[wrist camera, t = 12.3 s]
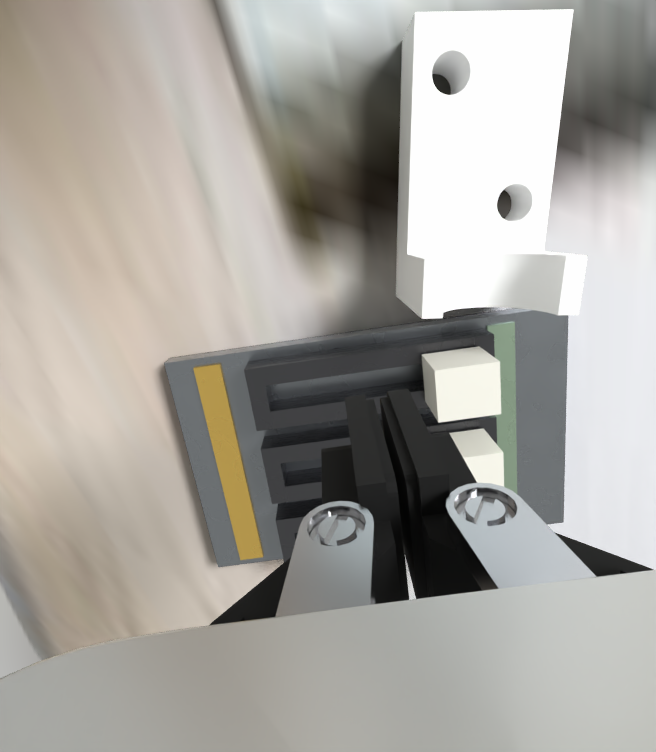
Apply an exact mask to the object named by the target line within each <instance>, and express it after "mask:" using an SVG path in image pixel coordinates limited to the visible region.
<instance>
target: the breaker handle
mask: <svg viewBox="0 0 656 752" xmlns="http://www.w3.org/2000/svg"><path fill="white" fill-rule="evenodd" d="M422 367H423V379H424V391H425V402H426V403H427V405H428V407H429V408H430V410H431V411H432V413H433V415H434V416H435V418H436V420H437V421H438V423H440V422H447V421H454V420H462V419H469V418H476V417H483V416H491V415H498V414H501V382H500V361H499V360H497V359H496V358H494V357H493V356H492V355H490V354H489V353H488V352H486V351H485V350H484V349H482V348H481V347H480V346H478V347H471V348H464V349H457V350H450V351H443V352H436V353H429V354H422Z"/></svg>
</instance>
